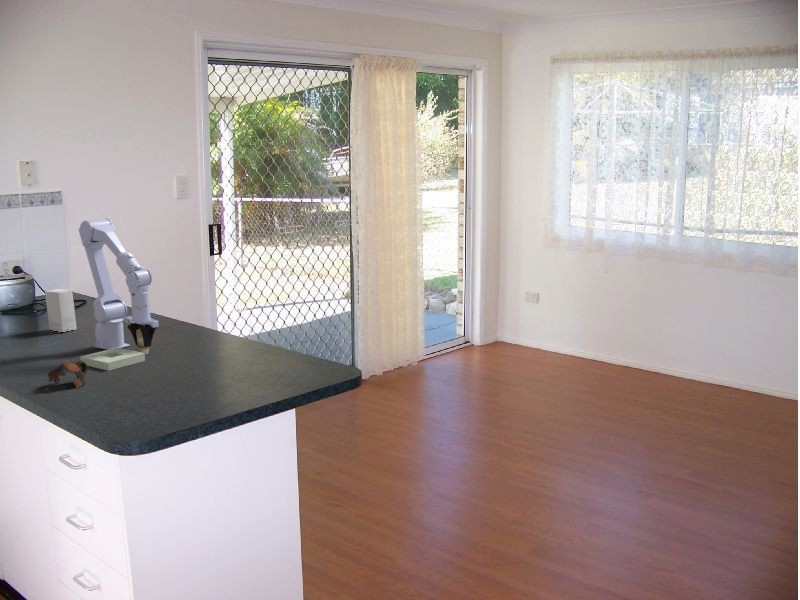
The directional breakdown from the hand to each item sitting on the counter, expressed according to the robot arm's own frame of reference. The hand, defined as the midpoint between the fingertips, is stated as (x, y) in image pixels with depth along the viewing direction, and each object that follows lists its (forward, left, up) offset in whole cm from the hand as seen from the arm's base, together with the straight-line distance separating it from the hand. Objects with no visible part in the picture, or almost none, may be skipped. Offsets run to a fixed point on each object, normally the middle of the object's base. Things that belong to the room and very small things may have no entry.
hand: (143, 345), depth 277 cm
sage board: (+1, -13, -3) cm, 13 cm away
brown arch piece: (+11, -35, -3) cm, 37 cm away
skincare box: (-54, +6, -3) cm, 54 cm away
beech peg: (0, 0, -3) cm, 3 cm away
